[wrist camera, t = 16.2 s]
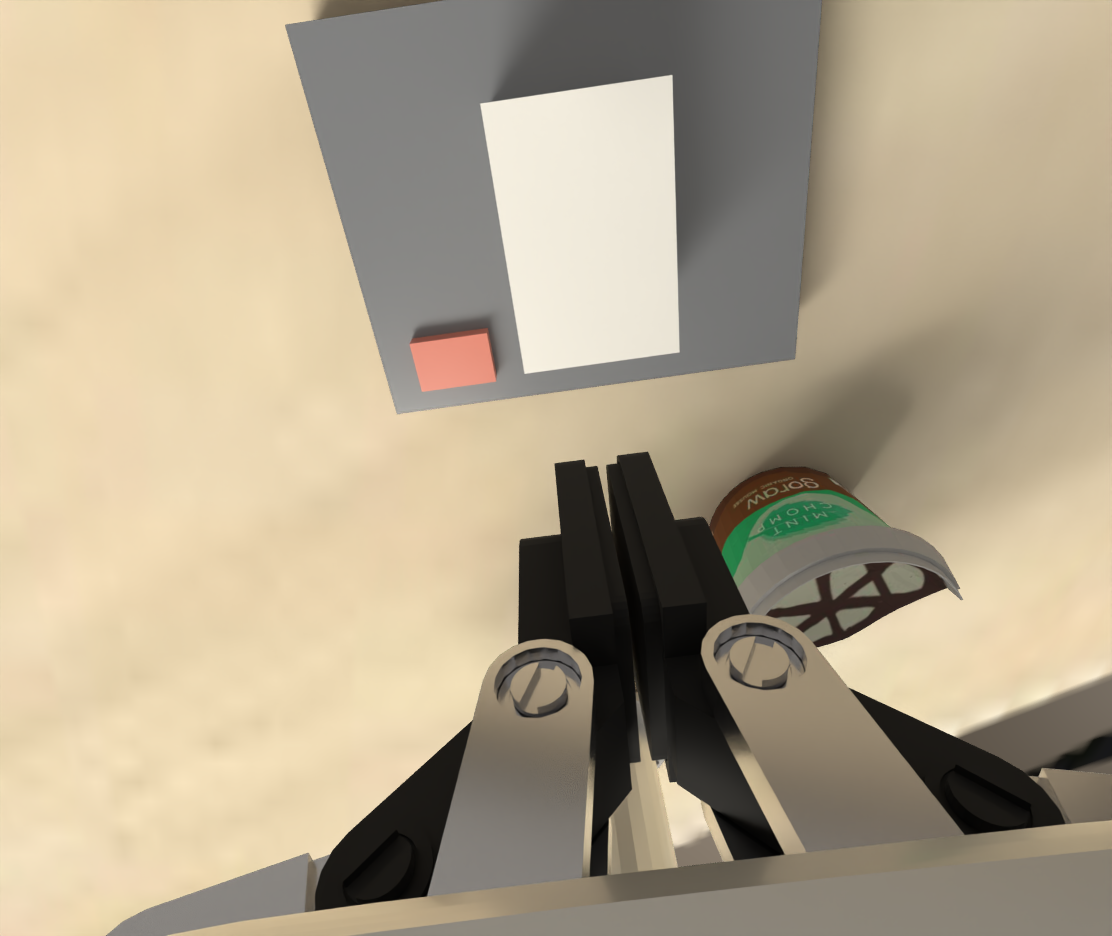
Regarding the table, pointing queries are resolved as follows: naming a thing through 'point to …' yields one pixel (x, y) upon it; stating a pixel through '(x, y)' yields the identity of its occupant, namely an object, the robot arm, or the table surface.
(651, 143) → the plug
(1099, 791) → the robot arm
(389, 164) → the socket
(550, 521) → the table surface
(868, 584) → the food container
